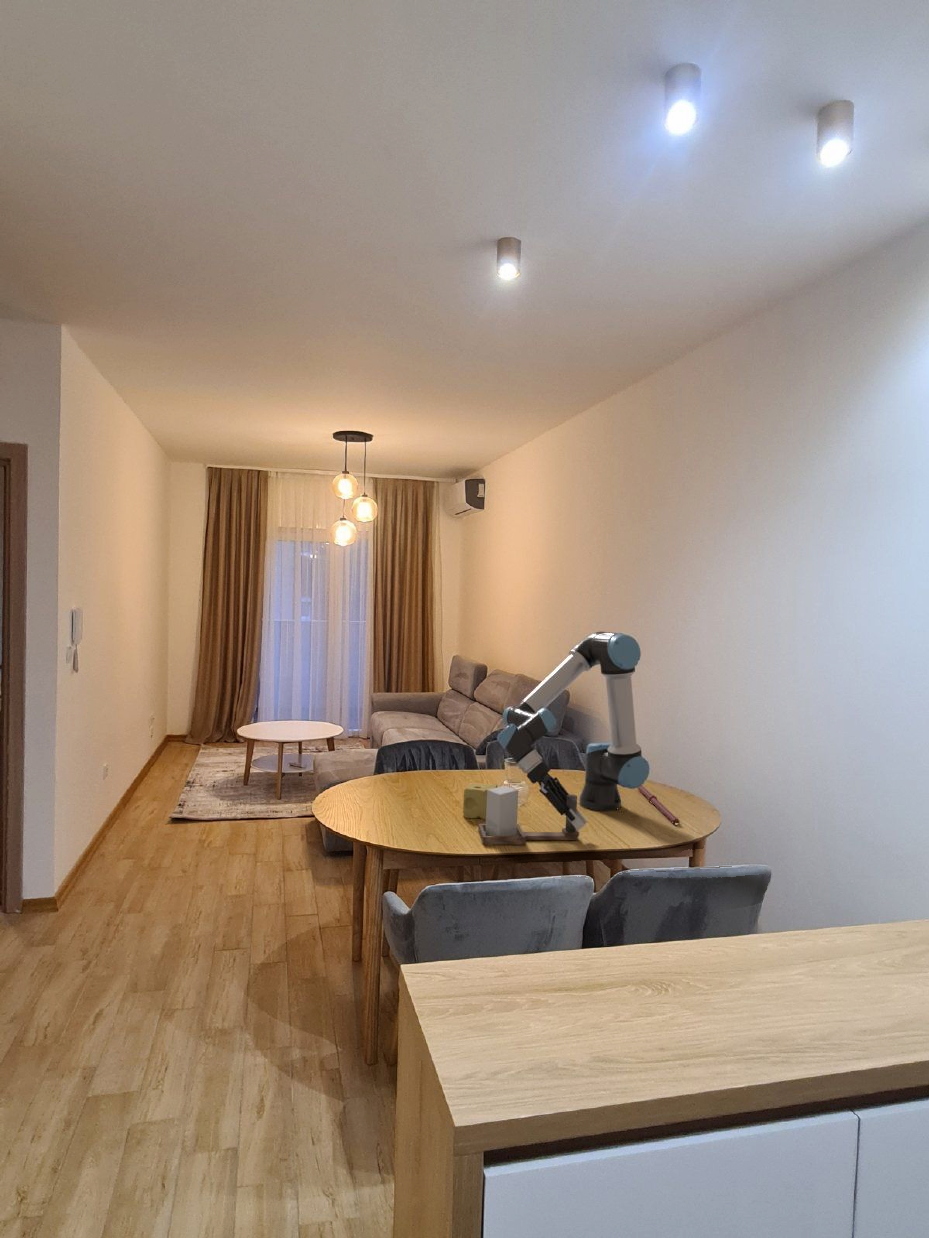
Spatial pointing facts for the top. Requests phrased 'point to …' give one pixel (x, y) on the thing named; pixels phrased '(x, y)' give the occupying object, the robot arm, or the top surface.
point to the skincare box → (501, 811)
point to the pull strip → (566, 833)
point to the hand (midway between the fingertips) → (582, 826)
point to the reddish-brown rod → (658, 804)
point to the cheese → (476, 800)
